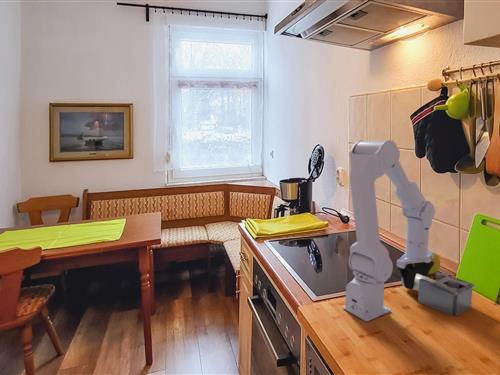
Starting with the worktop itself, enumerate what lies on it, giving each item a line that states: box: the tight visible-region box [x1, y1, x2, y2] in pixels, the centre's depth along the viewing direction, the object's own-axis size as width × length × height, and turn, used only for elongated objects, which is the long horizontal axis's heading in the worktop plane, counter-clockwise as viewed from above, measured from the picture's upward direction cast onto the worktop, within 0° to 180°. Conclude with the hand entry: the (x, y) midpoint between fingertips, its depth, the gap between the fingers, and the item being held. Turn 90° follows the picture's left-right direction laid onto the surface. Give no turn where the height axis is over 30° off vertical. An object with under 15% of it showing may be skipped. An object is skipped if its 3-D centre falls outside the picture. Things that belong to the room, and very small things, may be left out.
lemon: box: [428, 252, 441, 276], centre depth 107 cm, size 6×6×8 cm
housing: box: [417, 271, 476, 317], centre depth 88 cm, size 10×9×6 cm
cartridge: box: [401, 274, 436, 292], centre depth 94 cm, size 10×5×5 cm, turn 31°
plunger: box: [447, 280, 460, 289], centre depth 86 cm, size 3×3×2 cm
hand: (414, 286), depth 96 cm, fingers closed on cartridge, 5 cm apart
